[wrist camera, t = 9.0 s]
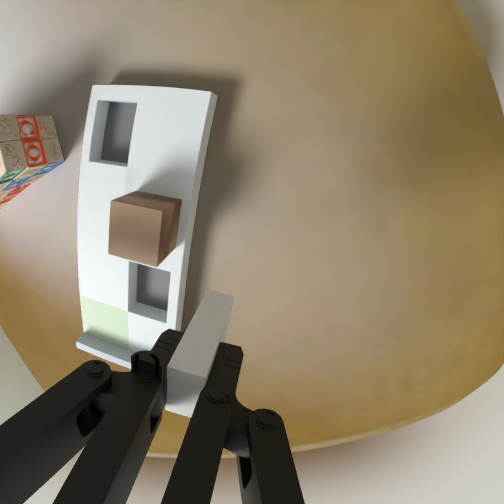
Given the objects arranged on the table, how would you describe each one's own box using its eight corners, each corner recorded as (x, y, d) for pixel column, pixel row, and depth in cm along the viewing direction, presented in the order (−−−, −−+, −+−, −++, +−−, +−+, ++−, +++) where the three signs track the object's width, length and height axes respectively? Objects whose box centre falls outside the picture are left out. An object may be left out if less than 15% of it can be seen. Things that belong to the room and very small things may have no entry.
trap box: (105, 88, 25) (80, 82, 20) (217, 96, 24) (205, 87, 20) (94, 328, 35) (76, 347, 31) (178, 356, 35) (166, 381, 30)
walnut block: (136, 190, 26) (110, 200, 21) (182, 199, 25) (162, 211, 21) (132, 237, 27) (108, 253, 23) (175, 248, 27) (156, 267, 23)
